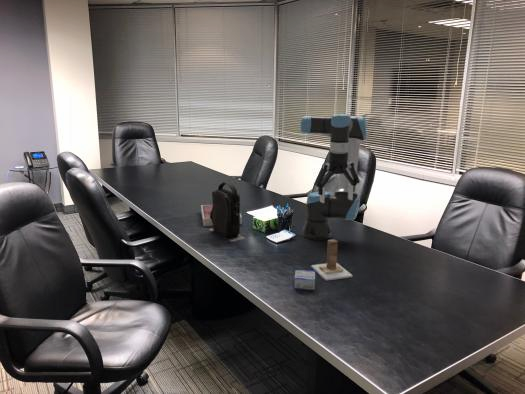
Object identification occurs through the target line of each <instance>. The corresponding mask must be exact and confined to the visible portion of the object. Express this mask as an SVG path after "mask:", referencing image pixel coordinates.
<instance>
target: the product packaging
mask: <svg viewBox="0 0 525 394" xmlns="http://www.w3.org/2000/svg"><path fill="white" fill-rule="evenodd" d="M212 207H213V204H204V205H203V204H201V205H200V211H201V212H200V213H201V218H202V224H203V227H213V223H212V220H211V219H210V213H211V210H212ZM240 225H243V216H242V213H240Z"/></svg>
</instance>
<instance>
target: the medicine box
mask: <svg viewBox="0 0 525 394" xmlns="http://www.w3.org/2000/svg"><path fill="white" fill-rule="evenodd" d="M294 273H295V274H294V281H293V289H295V290H296V289H297V290H307V291H308V290H310V291H315V290H316V288H315V287H316V271H315V270H305V269H295V272H294Z"/></svg>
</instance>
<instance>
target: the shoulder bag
mask: <svg viewBox="0 0 525 394" xmlns="http://www.w3.org/2000/svg"><path fill="white" fill-rule="evenodd" d="M225 185H228V186H229V188H230V189H226V188H224V186H225ZM211 196H212V205H213V207H212V210H211V213H210V219H211V220H212V223H213V226H212V228H209V231H211V232H212V233H215V234H216V235H218V236H220V237H221V238H224V239H226V240H227V241H228V242H230V243H231V242H232V243H233V242H236V241H239V240H240V241H241V240H245V239H246V237H244V236H242V235H241V234H240V230H241V229H240V228H241V227H240V214H241V210H240V209H241V208H240V207H241V197H240V194H239V193H238V190H237V188H236V186H235V185H234V184H233V182H229V181H227V182H226V181H223V182H222V183H220V184H219V185H218V188H217V189H216V190H215V191H214V190H213V191H212V192H211Z"/></svg>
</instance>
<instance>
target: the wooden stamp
mask: <svg viewBox="0 0 525 394" xmlns="http://www.w3.org/2000/svg"><path fill="white" fill-rule="evenodd" d="M338 242H339V241H338V240H336V239H335V238H334V239H327V245H326V246H327V250H326V251H327V252H326V263H327V264H326V263H325V264H326V265H324V266H319V269H321V270H322V271H323V272H324V273H325V274H330V273H337V272H343V269H342V268H341V267H339V266H338V265H337V264H336V263H338V262H337V260H338V259H337V258H338V245H339V243H338Z"/></svg>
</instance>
